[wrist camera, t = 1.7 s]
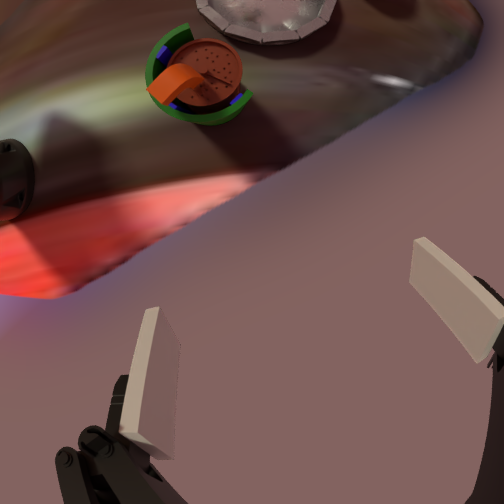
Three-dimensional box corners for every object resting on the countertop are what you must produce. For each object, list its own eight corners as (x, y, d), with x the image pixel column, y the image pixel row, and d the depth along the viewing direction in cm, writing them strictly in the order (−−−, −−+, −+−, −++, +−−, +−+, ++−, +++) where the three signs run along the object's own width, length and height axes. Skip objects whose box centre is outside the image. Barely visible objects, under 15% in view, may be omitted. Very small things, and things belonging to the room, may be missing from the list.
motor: (257, 91, 34) (284, 58, 16) (218, 139, 37) (207, 150, 19) (200, 53, 31) (175, -5, 13) (162, 101, 34) (102, 84, 16)
